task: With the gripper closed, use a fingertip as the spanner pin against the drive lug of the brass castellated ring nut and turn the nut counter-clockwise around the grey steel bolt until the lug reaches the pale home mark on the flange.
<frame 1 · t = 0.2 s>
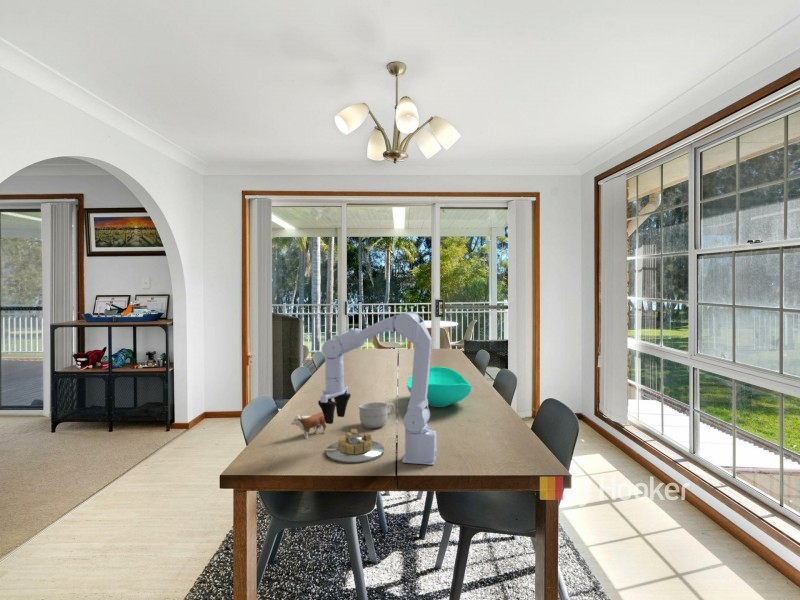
hand: (335, 419, 145), 10 cm above the table, fingers open, 7 cm apart
flange: (355, 452, 144), on the table
ring nut: (356, 440, 146), point 3 cm above the table, hinge at 0.0°
table top decor: (439, 405, 200), on the table
teacup: (377, 426, 172), on the table
bull figurine: (310, 436, 160), on the table
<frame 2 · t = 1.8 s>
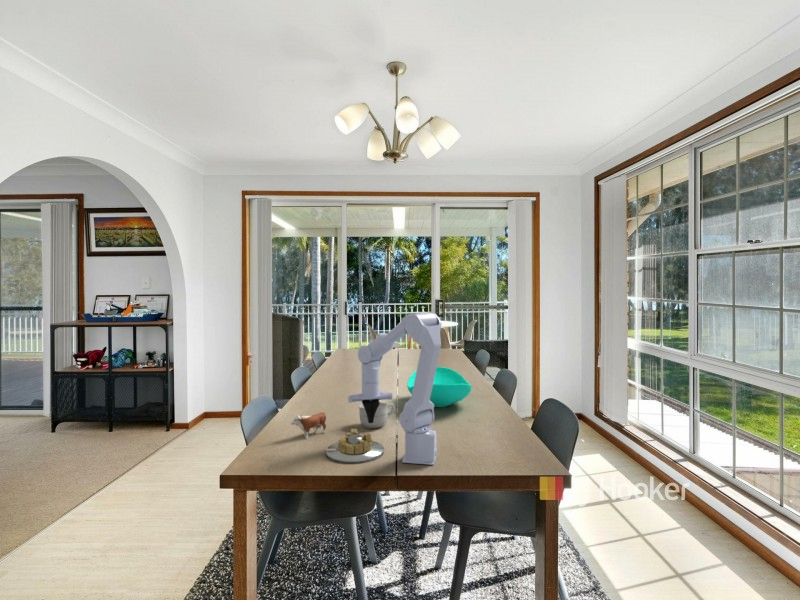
hand: (370, 422, 152), 7 cm above the table, fingers closed
nothing on the table moved.
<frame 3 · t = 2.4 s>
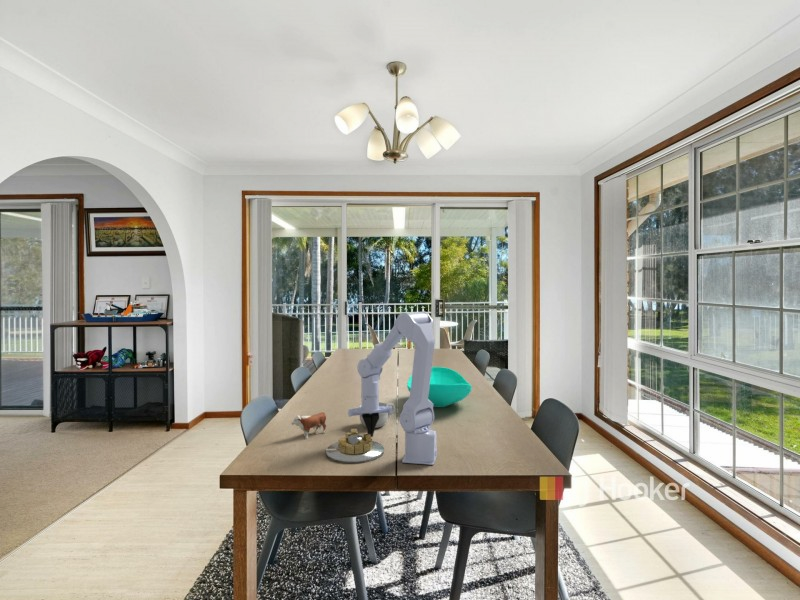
hand: (370, 435, 152), 2 cm above the table, fingers closed
nothing on the table moved.
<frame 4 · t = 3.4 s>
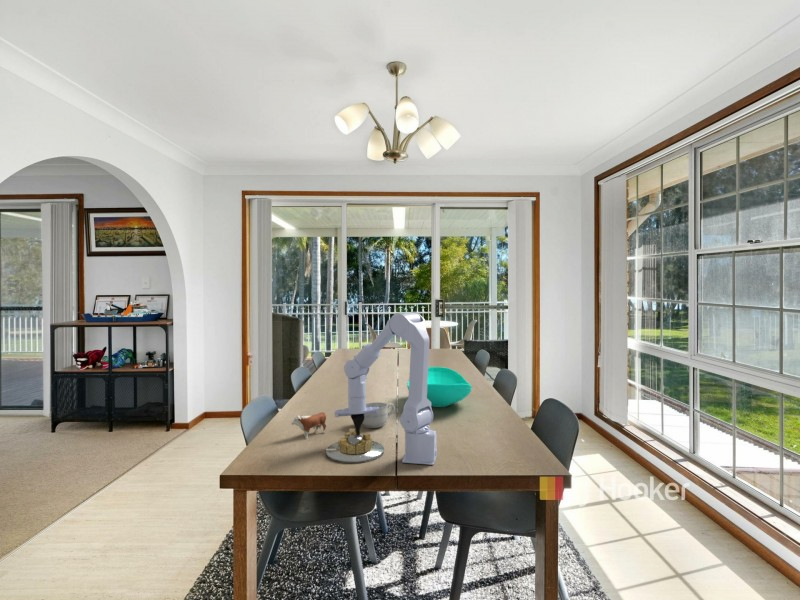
hand: (357, 436, 151), 2 cm above the table, fingers closed, pressing on ring nut
ring nut: (356, 440, 146), point 3 cm above the table, hinge at 3.9°, touching gripper
everything else where it was.
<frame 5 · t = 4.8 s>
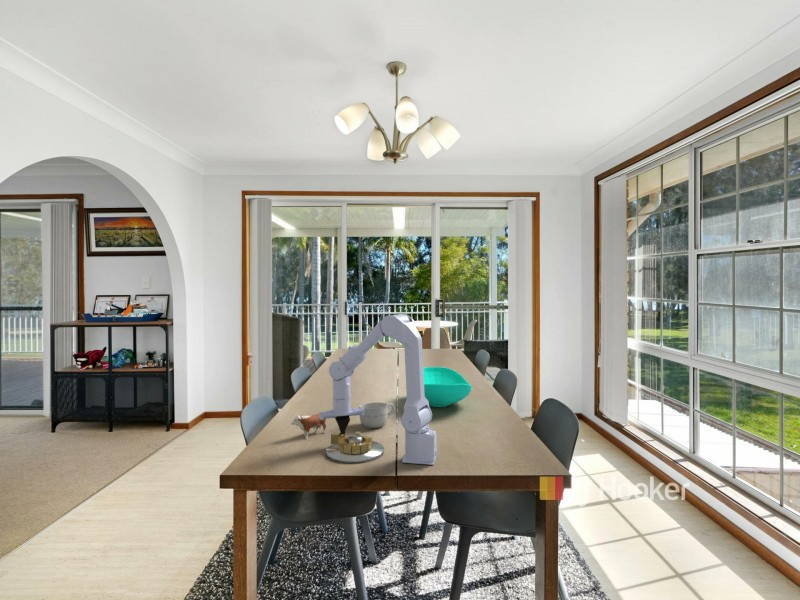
hand: (342, 439, 150), 2 cm above the table, fingers closed, pressing on ring nut
ring nut: (352, 440, 146), point 3 cm above the table, hinge at 50.6°, touching gripper
everything else where it was.
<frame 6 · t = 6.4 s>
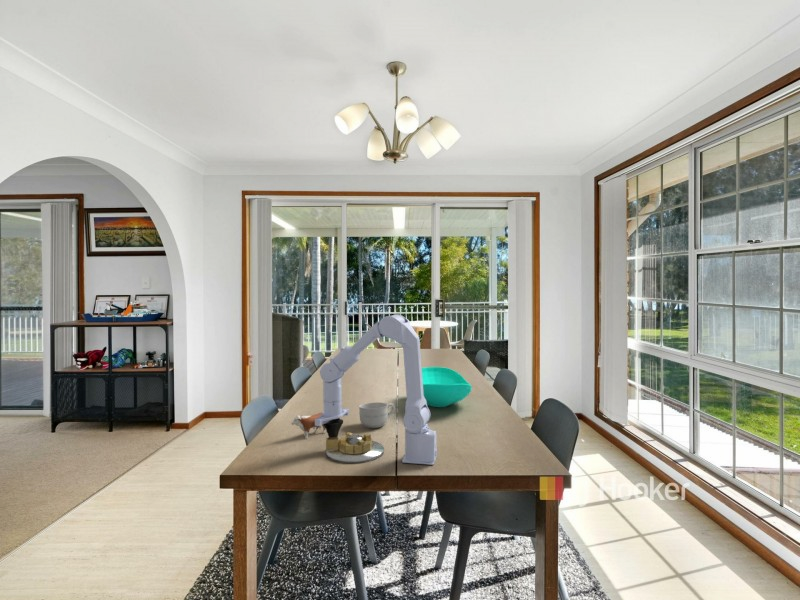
hand: (333, 442, 146), 2 cm above the table, fingers closed
ring nut: (349, 441, 145), point 3 cm above the table, hinge at 87.9°, touching gripper
everything else where it was.
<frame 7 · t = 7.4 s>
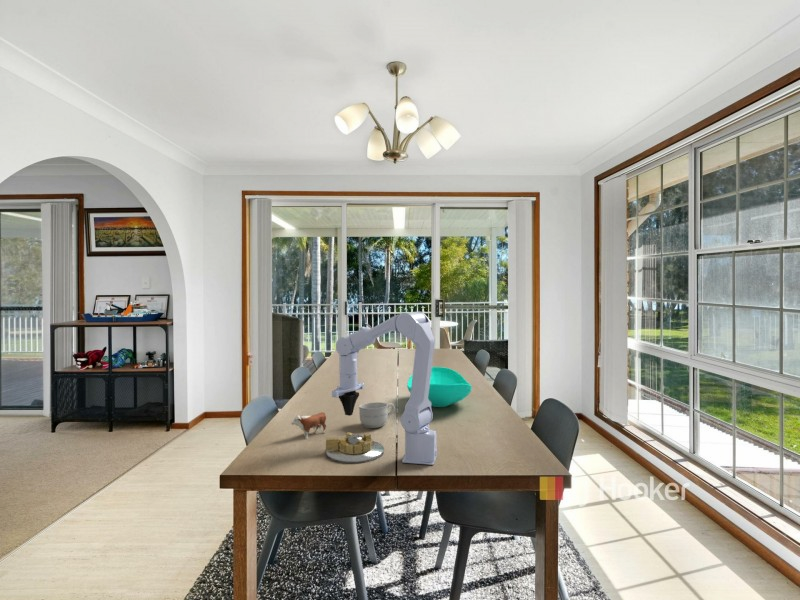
hand: (348, 414, 151), 10 cm above the table, fingers closed
ring nut: (349, 441, 145), point 3 cm above the table, hinge at 87.9°
everything else where it was.
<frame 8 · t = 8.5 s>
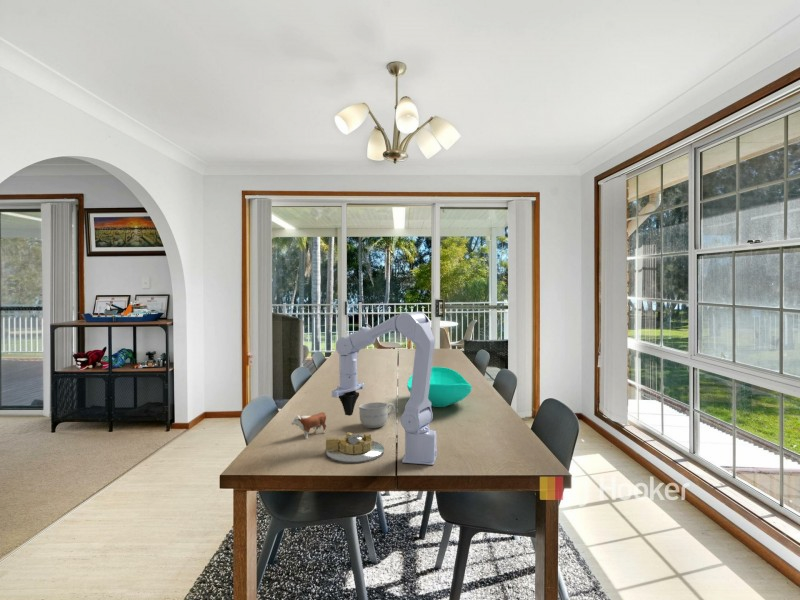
hand: (348, 414, 151), 10 cm above the table, fingers closed
nothing on the table moved.
at the end: ring nut at +88° (first picture: +0°); ring nut touching nothing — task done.
